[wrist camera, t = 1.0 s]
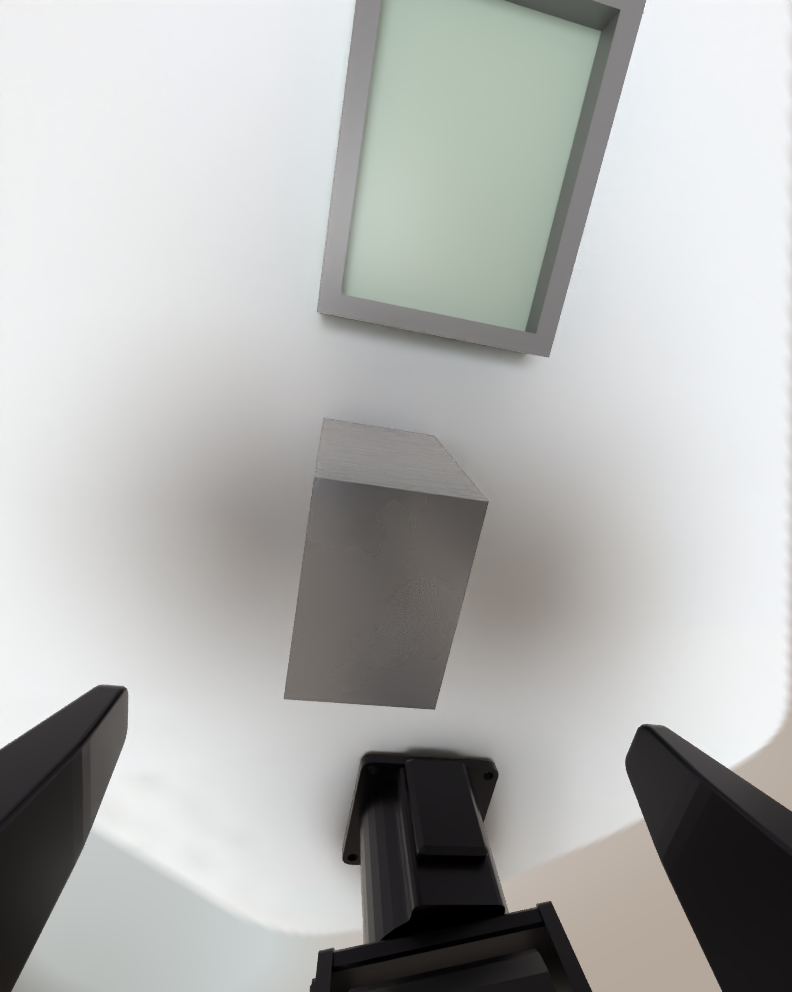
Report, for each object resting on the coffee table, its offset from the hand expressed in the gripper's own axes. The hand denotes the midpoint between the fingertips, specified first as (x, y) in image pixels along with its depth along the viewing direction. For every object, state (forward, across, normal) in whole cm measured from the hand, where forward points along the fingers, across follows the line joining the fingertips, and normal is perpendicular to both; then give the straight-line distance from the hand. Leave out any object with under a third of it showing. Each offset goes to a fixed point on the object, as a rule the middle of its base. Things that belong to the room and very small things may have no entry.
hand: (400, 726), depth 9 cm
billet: (+11, 0, 0) cm, 11 cm away
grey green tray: (+11, -1, -11) cm, 15 cm away
